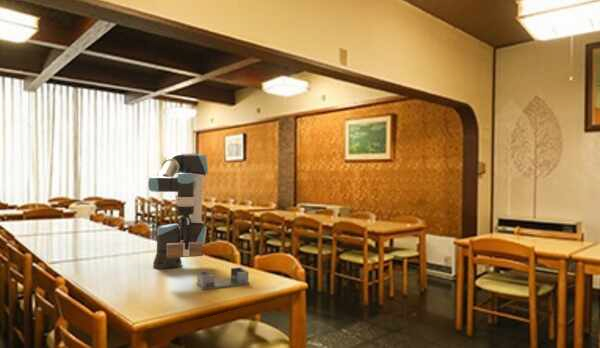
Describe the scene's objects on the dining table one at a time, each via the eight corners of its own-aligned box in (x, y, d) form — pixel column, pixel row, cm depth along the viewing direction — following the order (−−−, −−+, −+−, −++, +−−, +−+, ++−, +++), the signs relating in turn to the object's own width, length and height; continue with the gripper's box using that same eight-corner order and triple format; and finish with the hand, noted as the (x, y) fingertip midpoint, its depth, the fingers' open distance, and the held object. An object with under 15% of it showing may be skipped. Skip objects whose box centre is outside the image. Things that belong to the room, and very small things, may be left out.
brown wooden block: (166, 256, 186) (166, 243, 186) (201, 254, 193) (201, 241, 193) (167, 258, 182) (167, 245, 182) (202, 256, 188) (203, 243, 188)
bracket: (196, 284, 186) (196, 271, 186) (241, 279, 196) (241, 267, 196) (202, 290, 176) (202, 276, 176) (249, 284, 187) (249, 271, 187)
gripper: (173, 204, 193) (173, 251, 194) (181, 207, 177) (180, 259, 177) (189, 203, 197) (188, 250, 197) (198, 207, 181) (197, 258, 181)
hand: (184, 254), depth 187 cm, fingers closed on brown wooden block, 5 cm apart
